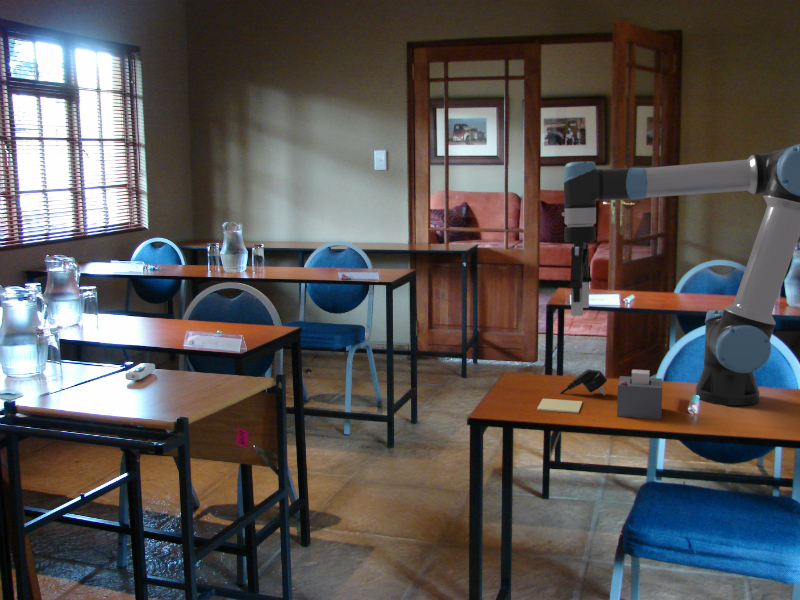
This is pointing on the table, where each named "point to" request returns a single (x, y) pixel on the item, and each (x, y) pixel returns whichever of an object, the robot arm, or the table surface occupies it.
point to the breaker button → (640, 377)
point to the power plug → (588, 381)
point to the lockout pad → (560, 405)
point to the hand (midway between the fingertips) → (580, 311)
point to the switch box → (639, 398)
